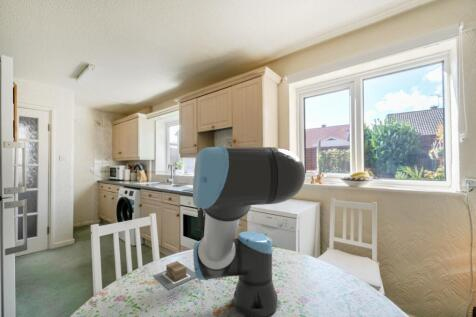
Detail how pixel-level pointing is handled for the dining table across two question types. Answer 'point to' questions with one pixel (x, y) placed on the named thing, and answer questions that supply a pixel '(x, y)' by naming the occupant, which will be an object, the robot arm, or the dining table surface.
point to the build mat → (170, 283)
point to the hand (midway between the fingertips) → (212, 243)
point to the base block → (176, 270)
